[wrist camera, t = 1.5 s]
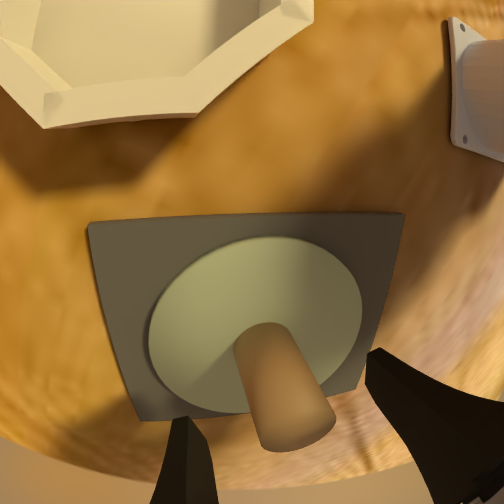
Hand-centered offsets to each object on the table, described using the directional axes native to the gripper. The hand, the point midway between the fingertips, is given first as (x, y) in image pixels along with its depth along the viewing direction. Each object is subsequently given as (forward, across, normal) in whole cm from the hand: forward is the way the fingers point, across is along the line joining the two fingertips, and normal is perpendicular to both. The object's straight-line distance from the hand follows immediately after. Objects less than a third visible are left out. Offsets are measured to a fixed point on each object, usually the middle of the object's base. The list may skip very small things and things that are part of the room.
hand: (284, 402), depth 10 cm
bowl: (+4, +1, -16) cm, 16 cm away
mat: (+4, 0, 0) cm, 4 cm away
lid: (+4, 0, 0) cm, 4 cm away
